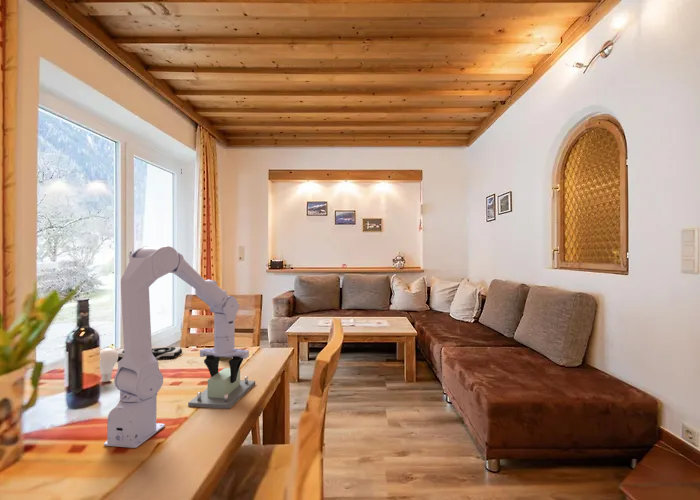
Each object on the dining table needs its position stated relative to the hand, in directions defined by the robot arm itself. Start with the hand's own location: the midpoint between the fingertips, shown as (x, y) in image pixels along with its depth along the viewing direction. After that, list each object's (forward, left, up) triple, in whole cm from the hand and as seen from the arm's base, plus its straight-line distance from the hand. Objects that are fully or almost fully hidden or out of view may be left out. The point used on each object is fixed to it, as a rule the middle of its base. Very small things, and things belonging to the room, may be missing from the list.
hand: (224, 381), depth 99 cm
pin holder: (0, 0, -4) cm, 4 cm away
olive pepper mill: (+32, +17, -4) cm, 36 cm away
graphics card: (+30, +49, -5) cm, 57 cm away
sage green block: (0, 0, -3) cm, 3 cm away
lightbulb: (+4, +43, -4) cm, 43 cm away
